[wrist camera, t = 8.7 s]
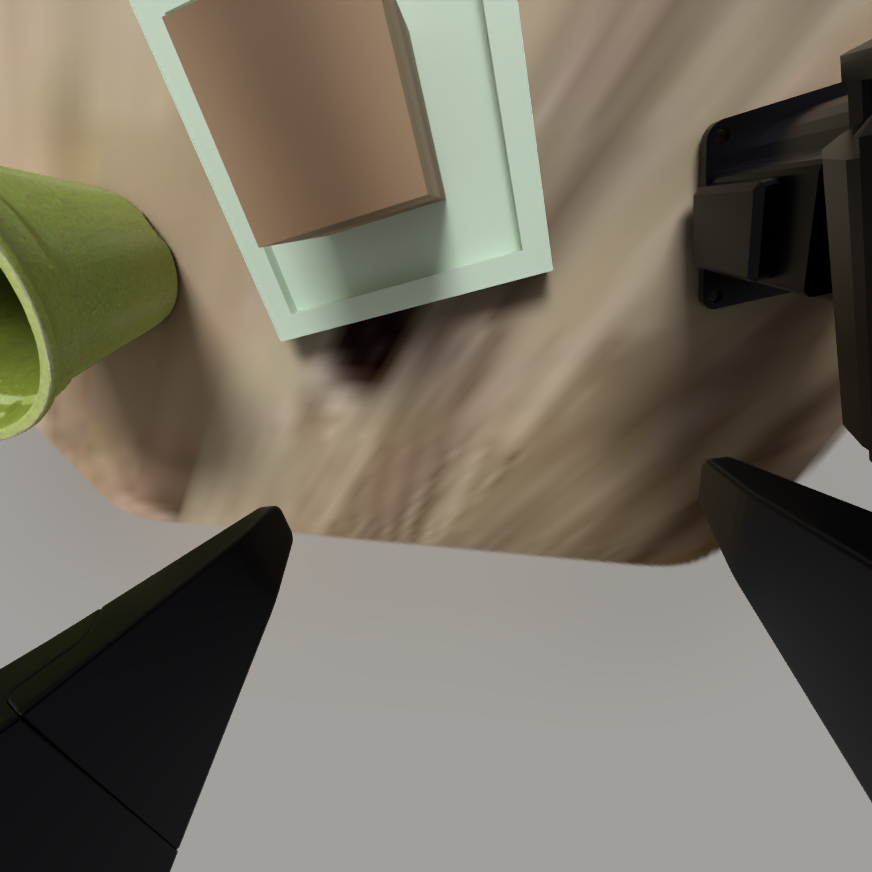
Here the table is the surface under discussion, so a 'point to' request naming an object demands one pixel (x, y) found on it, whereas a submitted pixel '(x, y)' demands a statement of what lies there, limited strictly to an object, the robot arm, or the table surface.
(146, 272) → the plant pot
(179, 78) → the green tray
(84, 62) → the table surface
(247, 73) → the walnut block
